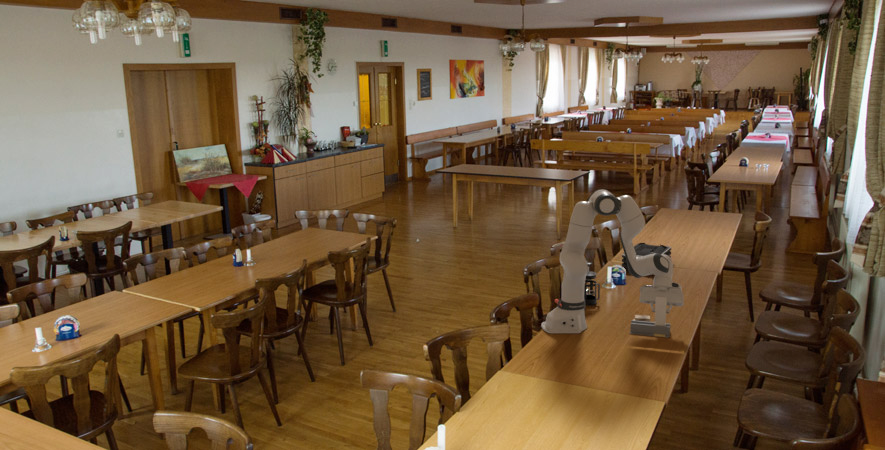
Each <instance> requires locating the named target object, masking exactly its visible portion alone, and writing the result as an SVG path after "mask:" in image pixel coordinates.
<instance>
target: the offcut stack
mask: <svg viewBox="0 0 885 450" xmlns="http://www.w3.org/2000/svg"><path fill="white" fill-rule="evenodd" d="M632 320H636V321H646V322H651V316H650V315H644V314H643V315H641V314H634V318H633V319H632Z"/></svg>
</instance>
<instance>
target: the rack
mask: <svg viewBox="0 0 885 450" xmlns="http://www.w3.org/2000/svg"><path fill="white" fill-rule="evenodd" d="M630 321H631V322H630V326H629V327H630V330H629V334H630V335H638V336H647V337H648V336H649V337H659V338H670V337H671V336H670V335H671V323H667V322H666V326H659V325H655V321H650V322H646V321H636V320H633V319H631V320H630Z"/></svg>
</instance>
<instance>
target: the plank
mask: <svg viewBox="0 0 885 450" xmlns="http://www.w3.org/2000/svg"><path fill="white" fill-rule="evenodd" d="M654 305H655V312H654V322H655V325H659V326H666V323H667V313H666V309H667V306H668V305H667V297H656V300H655V304H654Z"/></svg>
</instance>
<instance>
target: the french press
mask: <svg viewBox="0 0 885 450" xmlns="http://www.w3.org/2000/svg"><path fill="white" fill-rule="evenodd" d="M587 264H588V270H587V273H586V279H585V283H586V284H585V285H584V300H585V307H586V306H587V307H588V306H589V307H592V306H596V305H597V304H598V303H597V301H599V300H600V298H601V293H600V292H601V284H600V283H598V281H596V280H594V279H597V275H598V273H597V272H595V271H590V265H591V266H592V265H593V262H590V261H587ZM593 288H594V289H593Z"/></svg>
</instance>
